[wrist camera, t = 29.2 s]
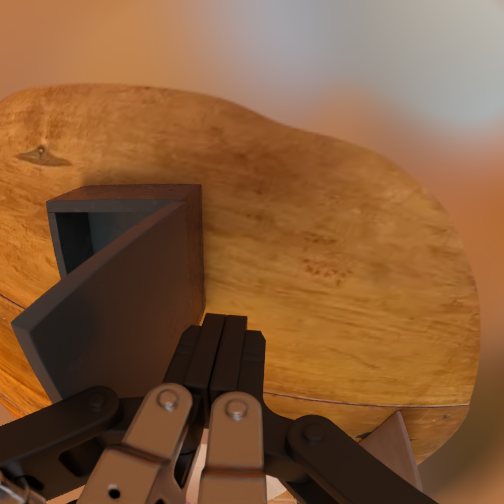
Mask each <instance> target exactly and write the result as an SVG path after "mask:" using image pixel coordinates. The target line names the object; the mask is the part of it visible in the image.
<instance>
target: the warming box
mask: <svg viewBox="0 0 504 504" xmlns="http://www.w3.org/2000/svg"><path fill="white" fill-rule="evenodd" d="M171 202H184V203H185V214H186V239H187V258H188V274H189V288H190V301H191V313H192V323H193V325H198V326H199V324H200V321H201V319H202V316H203V313H204V310H205V295H204V273H203V244H202V186H201V184H128V185H99V186H83V187H80V188H77V189H75V190H72V191H70V192H67V193H65V194H62V195H60V196H58V197H55V198H53V199H51V200H48V201H46V206H47V212H48V220H49V226H50V231H51V237H52V242H53V247H54V252H55V256H56V261H57V265H58V269H59V273H60V277H61V280H62V279H63V278H64V277H65V276H67V275H68V274H69V273H71V272H72V271H73V270H74V269H76V268H77V267H78V266H80V265H81V264H82V263H84V262H85V261H86V260H88V259H89V258H90V257H92V256H93V255H94V254H96V253H97V252H99V251H100V250H101V249H103V248H104V247H105V246H107V245H108V244H110V243H111V242H112V241H114V240H115V239H117V238H118V237H120V236H121V235H122V234H124V233H125V232H127V231H128V230H130V229H131V228H133V227H134V226H136V225H137V224H139V223H140V222H142V221H143V220H145V219H146V218H148V217H149V216H151V215H152V214H154V213H155V212H157V211H158V210H160V209H162V208H163V207H165V206H166V205H168V204H169V203H171Z"/></svg>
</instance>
